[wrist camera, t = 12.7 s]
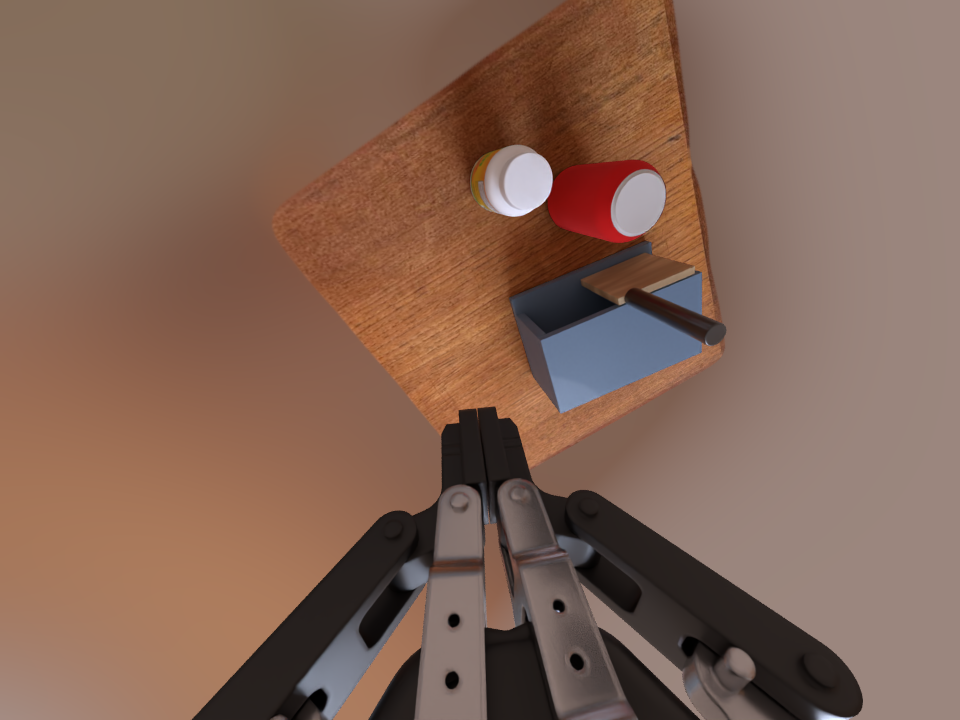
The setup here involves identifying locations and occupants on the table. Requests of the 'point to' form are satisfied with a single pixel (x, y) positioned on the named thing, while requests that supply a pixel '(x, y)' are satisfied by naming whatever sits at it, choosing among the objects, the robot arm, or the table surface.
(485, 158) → the supplement bottle
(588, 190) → the beverage can
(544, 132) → the table surface
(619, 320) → the cabinet
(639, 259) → the brown flat handled piece
